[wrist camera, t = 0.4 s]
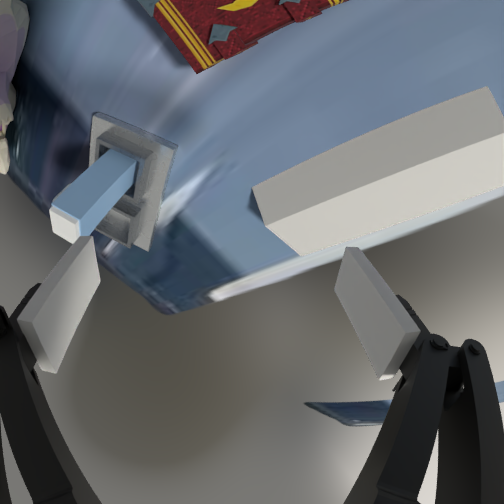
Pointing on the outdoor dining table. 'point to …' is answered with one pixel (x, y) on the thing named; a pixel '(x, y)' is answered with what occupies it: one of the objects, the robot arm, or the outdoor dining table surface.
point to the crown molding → (388, 175)
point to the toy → (9, 65)
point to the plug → (92, 195)
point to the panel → (143, 189)
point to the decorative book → (226, 24)
